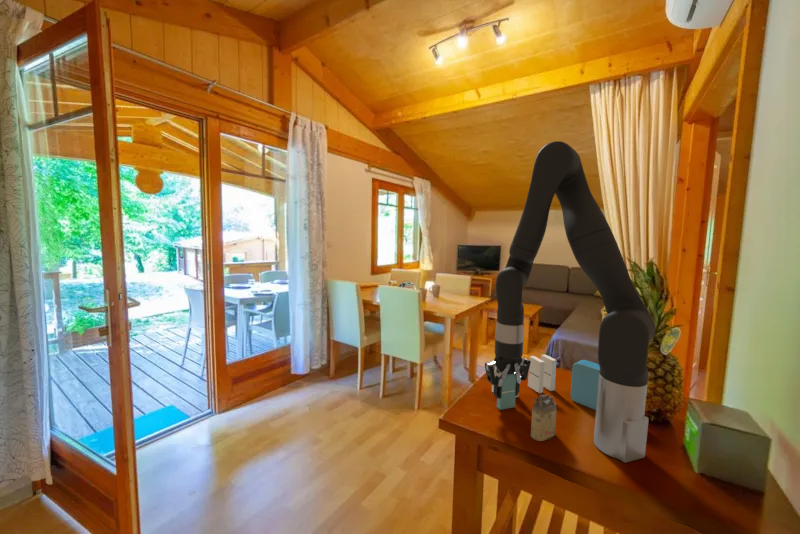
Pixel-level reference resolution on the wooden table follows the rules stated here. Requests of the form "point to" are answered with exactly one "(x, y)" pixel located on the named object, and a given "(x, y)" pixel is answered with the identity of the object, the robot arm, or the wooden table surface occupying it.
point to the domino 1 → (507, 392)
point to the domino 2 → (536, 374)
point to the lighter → (543, 418)
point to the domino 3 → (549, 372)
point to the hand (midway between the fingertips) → (506, 395)
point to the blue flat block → (585, 383)
